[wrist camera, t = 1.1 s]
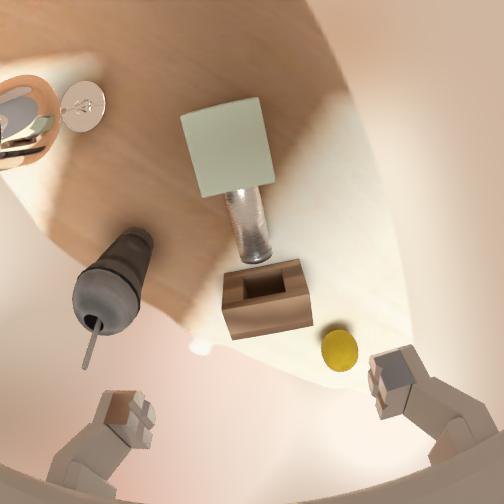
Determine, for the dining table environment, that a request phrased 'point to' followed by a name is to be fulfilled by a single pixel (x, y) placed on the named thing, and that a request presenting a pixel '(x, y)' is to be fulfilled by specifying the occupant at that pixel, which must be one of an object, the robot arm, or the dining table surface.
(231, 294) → the socket
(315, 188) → the dining table surface
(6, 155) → the wineglass
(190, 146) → the sage green block
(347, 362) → the lemon
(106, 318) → the beverage cup
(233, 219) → the tube
